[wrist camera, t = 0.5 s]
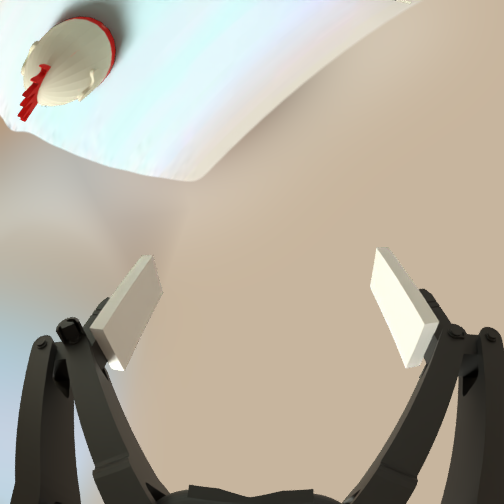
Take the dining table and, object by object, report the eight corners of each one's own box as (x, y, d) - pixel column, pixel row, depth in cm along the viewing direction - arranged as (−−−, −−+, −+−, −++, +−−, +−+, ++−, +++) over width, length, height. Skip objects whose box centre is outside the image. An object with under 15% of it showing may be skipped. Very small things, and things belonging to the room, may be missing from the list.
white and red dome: (32, 75, 28) (-20, 125, 20) (62, 5, 19) (-2, 36, 11) (92, 103, 36) (53, 160, 28) (132, 37, 28) (88, 74, 20)
